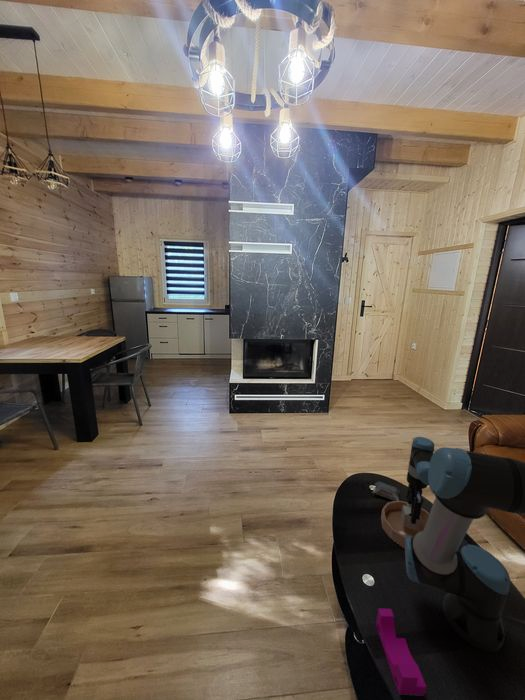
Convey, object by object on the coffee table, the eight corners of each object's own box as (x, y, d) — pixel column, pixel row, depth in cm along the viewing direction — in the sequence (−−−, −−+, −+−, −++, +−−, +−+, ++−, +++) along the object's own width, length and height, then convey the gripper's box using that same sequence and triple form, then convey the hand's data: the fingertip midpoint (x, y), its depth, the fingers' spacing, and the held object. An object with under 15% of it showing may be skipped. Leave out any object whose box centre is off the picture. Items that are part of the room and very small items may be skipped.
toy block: (423, 699, 70) (428, 678, 68) (398, 698, 70) (402, 677, 68) (396, 628, 85) (399, 608, 83) (375, 627, 85) (378, 608, 83)
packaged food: (397, 506, 132) (399, 496, 131) (371, 495, 137) (373, 486, 136) (399, 495, 139) (401, 486, 138) (374, 486, 145) (375, 477, 144)
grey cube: (419, 529, 115) (421, 517, 114) (403, 526, 117) (405, 514, 116) (416, 520, 120) (418, 508, 119) (401, 517, 122) (402, 505, 120)
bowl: (446, 560, 106) (448, 549, 105) (384, 544, 112) (386, 534, 111) (430, 517, 126) (432, 507, 125) (379, 505, 132) (380, 496, 131)
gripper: (434, 491, 104) (425, 543, 109) (423, 463, 121) (415, 509, 126) (412, 487, 106) (404, 538, 111) (403, 459, 123) (396, 505, 128)
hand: (410, 522), depth 118 cm, fingers closed on grey cube, 5 cm apart
